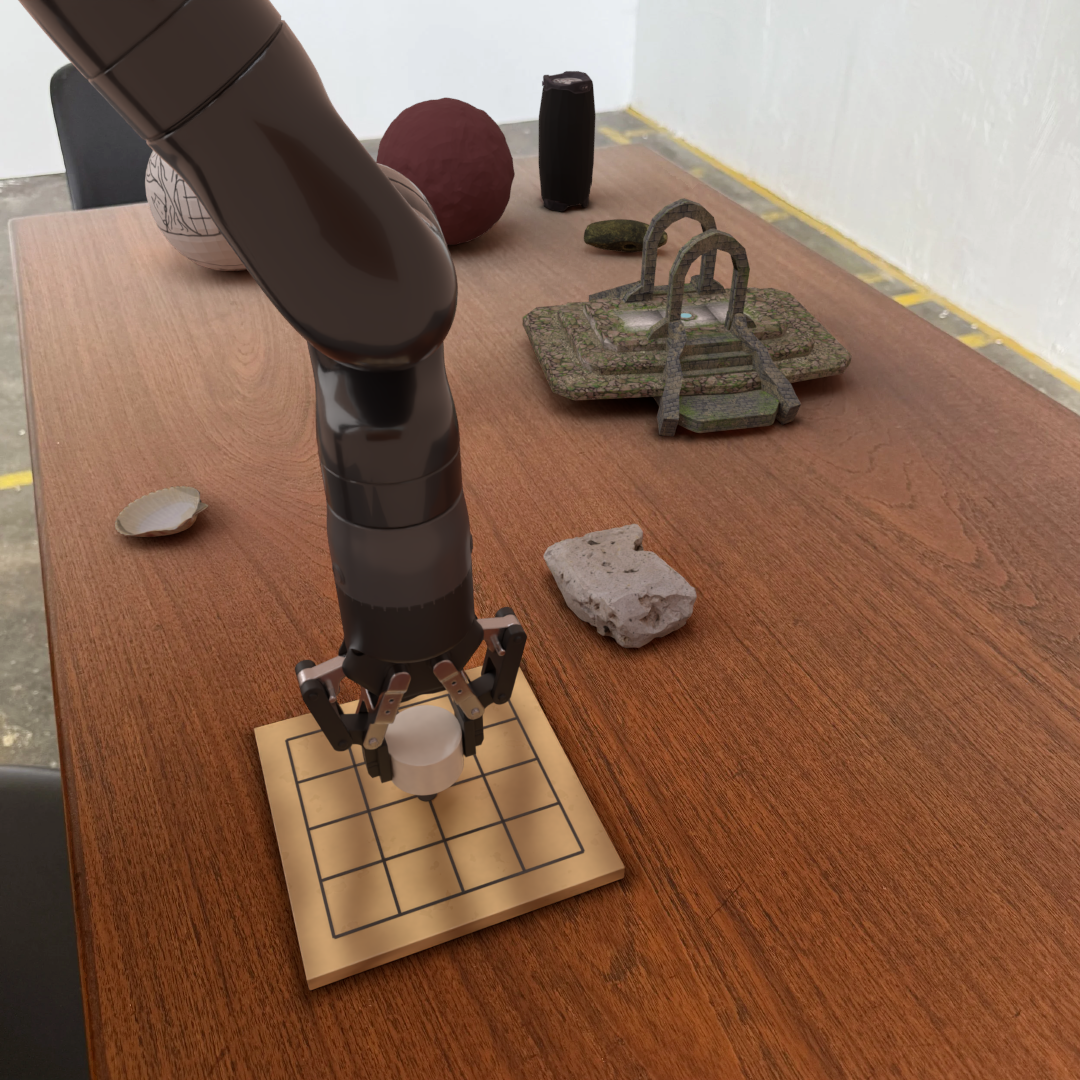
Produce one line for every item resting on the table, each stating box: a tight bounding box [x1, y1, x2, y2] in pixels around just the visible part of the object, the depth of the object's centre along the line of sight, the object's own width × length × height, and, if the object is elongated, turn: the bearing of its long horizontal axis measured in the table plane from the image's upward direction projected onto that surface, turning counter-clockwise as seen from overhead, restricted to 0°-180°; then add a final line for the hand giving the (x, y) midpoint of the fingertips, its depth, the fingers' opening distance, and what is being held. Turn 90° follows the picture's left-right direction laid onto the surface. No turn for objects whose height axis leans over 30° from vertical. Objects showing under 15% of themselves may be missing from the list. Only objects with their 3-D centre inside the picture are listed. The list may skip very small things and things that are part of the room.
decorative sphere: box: [375, 97, 516, 246], centre depth 141 cm, size 20×20×20 cm
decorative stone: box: [583, 218, 669, 253], centre depth 142 cm, size 11×8×5 cm
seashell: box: [114, 485, 209, 538], centre depth 89 cm, size 8×3×8 cm
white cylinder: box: [385, 705, 464, 795], centre depth 62 cm, size 5×5×3 cm
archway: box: [522, 197, 853, 437], centre depth 110 cm, size 35×34×18 cm
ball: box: [144, 150, 247, 272], centre depth 133 cm, size 20×20×20 cm
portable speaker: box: [538, 70, 596, 212], centre depth 154 cm, size 9×9×20 cm
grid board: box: [253, 665, 626, 991], centre depth 65 cm, size 20×20×1 cm
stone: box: [543, 523, 698, 649], centre depth 81 cm, size 13×6×10 cm
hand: (424, 758), depth 63 cm, fingers closed on white cylinder, 5 cm apart
